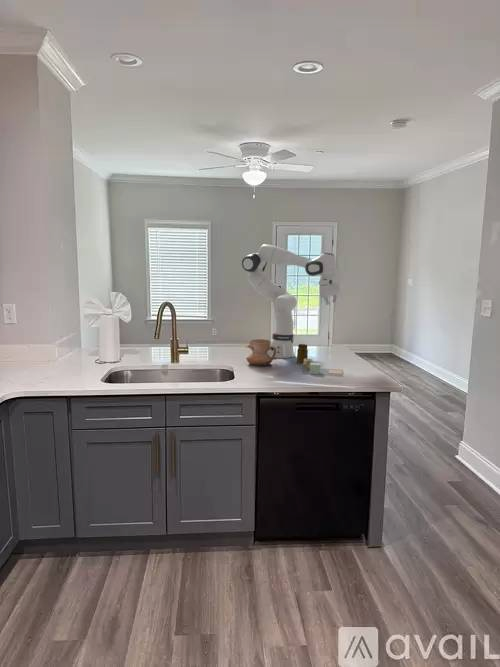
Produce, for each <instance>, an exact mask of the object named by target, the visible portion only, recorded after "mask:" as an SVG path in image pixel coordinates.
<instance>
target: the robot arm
mask: <svg viewBox="0 0 500 667" xmlns="http://www.w3.org/2000/svg"><path fill="white" fill-rule="evenodd" d="M268 263H269V264H272V265H275V266H279V267H280V266H281V267H285V266H286V267H287V266H298V267H301V268H304V270H305V272H306V274H307V275H309V276H310V277H311V276H312V277H316V276H321V278H320V280H318V285H319V296H320V298H321V299H324V301H325V306H326V305H327V306H328V305H329V306H330V301H329V298H330V297H332V303H337V297H338V295H340V293H341V288H340V282H338V274H337V260H336V256H335V254H334V253H331V252H322V253H321V254H320V255H319V256H317V257H315V258H309V257H306V256H302V255H298V254H296V253H294V252H292V251H290V250H287V249H285V248H283V247H280V246H277V245H274V244H267V243H266V244H265V243H264V244H262V245H261V246H260V247H259V249H258V252H255V253H251V254H247V255H246V256H244V257H243V259H242V260H241V266H242V268H243V270H245V272H249V273H248V275H247V276H246V280H247V282H248V283H249V285H250V286H251V287H252V288H253V289H254V290H255V291H256V292H258V293H259V294H260V295H261V296H262V297H263V298H264V299H266V300H268V301H270V302H271V303H273V304H272V307H273V310H274V316H275V332H273V333H272V334H271V335H272V336H271V338H272V339H270V341H271V343H270V346H274V347H275V348H276V355H275V356H274V358H273V359H275V358H276V359H286V358H294V357H295V351H294V340H295V339H294V337H295V336H294V320H293V310H294V309H295V308H296V307H297V304H298V301H297V298H296V297H295V296H294V295H292V294H291V293H289V292H288V291H287V290H285V289H283V287H280V286H279V285H278V284H276V283H275V282H274V281H273V280H272V279H270V278H269V277H268V276H266V275H265V274H264V271H265V269H266V266H267V264H268ZM267 354H268V355H269V356H271V357H272V356H273V354H274V349H273V348H272V349H270V350H268V352H267Z"/></svg>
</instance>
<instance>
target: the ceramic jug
mask: <svg viewBox="0 0 500 667" xmlns="http://www.w3.org/2000/svg"><path fill="white" fill-rule="evenodd" d="M270 343H271V339H264V338H257V339H256V338H255V339H254V338H253V339H249V344H246V345H245V348H246V349H247V348H249V349H250V350H251V352H252V353H251V354H249V355H248V356H247V357H246V358H245V359H246V361H247V363H248V364H250V365H253V366H256V367H257V366H259V367H260V366H261V367H263V366H267V365H270V364H271V363H272V362H273V361H274V359H275V358H274V356H275V355H276V348H275V347H274V346H270ZM272 348H273V349H274V354H273V356H272V357H271V356H269V355H268V354H267V352H268V350H270V349H272Z"/></svg>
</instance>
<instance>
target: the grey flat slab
mask: <svg viewBox="0 0 500 667" xmlns="http://www.w3.org/2000/svg"><path fill="white" fill-rule="evenodd" d="M300 374H301V375H311V376H312V375H313V376H314V375H315V376H329V377H339V378H340V377H342V378H343V377H344V370H343V369H337V368H335V369H334V368H321V367H320V372H319V374H310V370H306V369H303V368H302V369H301V372H300Z"/></svg>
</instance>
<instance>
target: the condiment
mask: <svg viewBox="0 0 500 667" xmlns="http://www.w3.org/2000/svg"><path fill="white" fill-rule="evenodd" d="M296 352H297V353H296V354H297V355H296V358H297V359H296V364H298V365H304V359H309V358H308V356H309V355H308V353H309V349H308V344H305V343H299V344H298V345H297V351H296Z"/></svg>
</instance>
